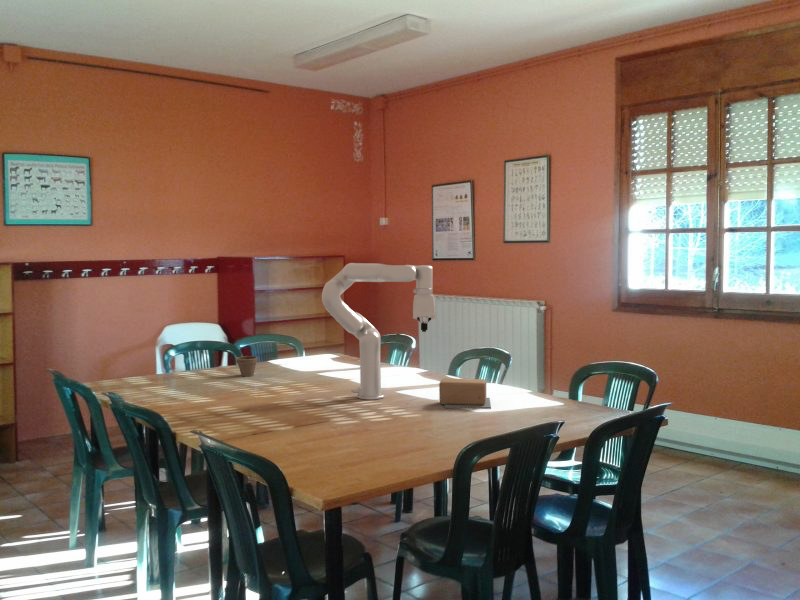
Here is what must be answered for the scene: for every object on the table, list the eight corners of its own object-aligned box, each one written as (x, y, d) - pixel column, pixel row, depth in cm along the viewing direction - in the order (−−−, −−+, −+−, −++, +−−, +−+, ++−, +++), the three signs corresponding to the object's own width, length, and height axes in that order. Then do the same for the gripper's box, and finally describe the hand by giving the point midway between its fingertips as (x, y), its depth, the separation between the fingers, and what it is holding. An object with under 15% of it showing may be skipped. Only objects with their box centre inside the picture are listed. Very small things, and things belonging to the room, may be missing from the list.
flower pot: (249, 378, 413) (249, 359, 412) (232, 376, 418) (232, 358, 417) (262, 374, 423) (261, 356, 423) (245, 373, 428) (245, 355, 428)
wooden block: (439, 404, 338) (484, 405, 334) (439, 382, 337) (484, 383, 334) (442, 399, 348) (486, 401, 344) (442, 378, 347) (486, 379, 343)
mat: (444, 408, 334) (444, 406, 334) (445, 398, 353) (445, 397, 353) (490, 408, 332) (490, 407, 332) (489, 399, 352) (489, 397, 352)
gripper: (407, 292, 352) (407, 332, 354) (439, 292, 350) (439, 332, 352) (409, 291, 360) (409, 330, 361) (441, 291, 358) (441, 331, 359)
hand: (424, 331), depth 357 cm, fingers closed
